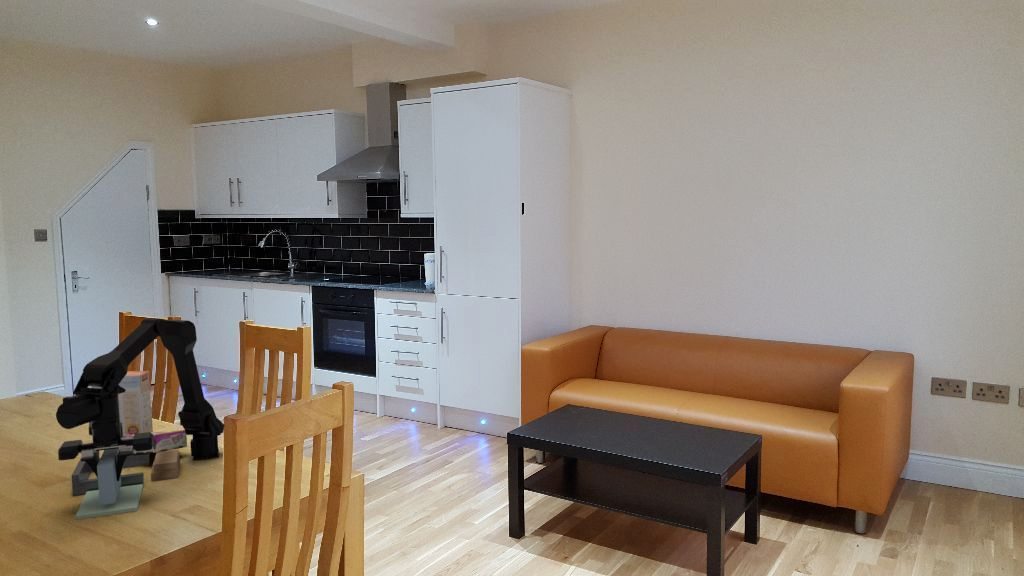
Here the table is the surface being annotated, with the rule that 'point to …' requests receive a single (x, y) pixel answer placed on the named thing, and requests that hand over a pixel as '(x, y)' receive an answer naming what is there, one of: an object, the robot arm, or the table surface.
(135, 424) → the cracker box
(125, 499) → the mat
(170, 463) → the offcut pile
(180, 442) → the candy bar box
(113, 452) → the grey panel
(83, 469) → the rack
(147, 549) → the table surface
